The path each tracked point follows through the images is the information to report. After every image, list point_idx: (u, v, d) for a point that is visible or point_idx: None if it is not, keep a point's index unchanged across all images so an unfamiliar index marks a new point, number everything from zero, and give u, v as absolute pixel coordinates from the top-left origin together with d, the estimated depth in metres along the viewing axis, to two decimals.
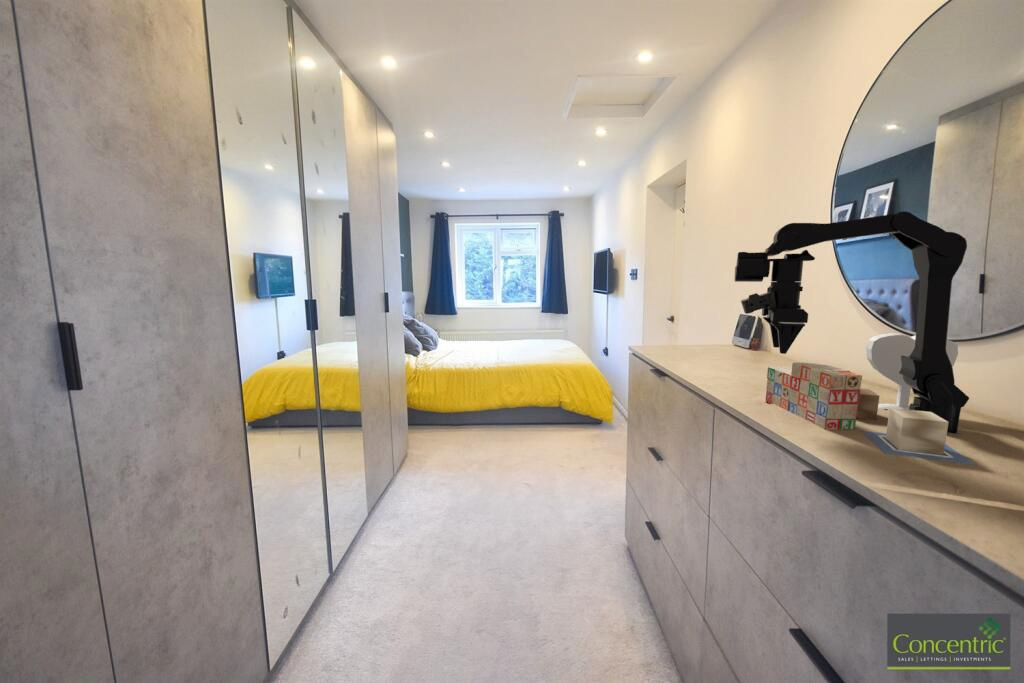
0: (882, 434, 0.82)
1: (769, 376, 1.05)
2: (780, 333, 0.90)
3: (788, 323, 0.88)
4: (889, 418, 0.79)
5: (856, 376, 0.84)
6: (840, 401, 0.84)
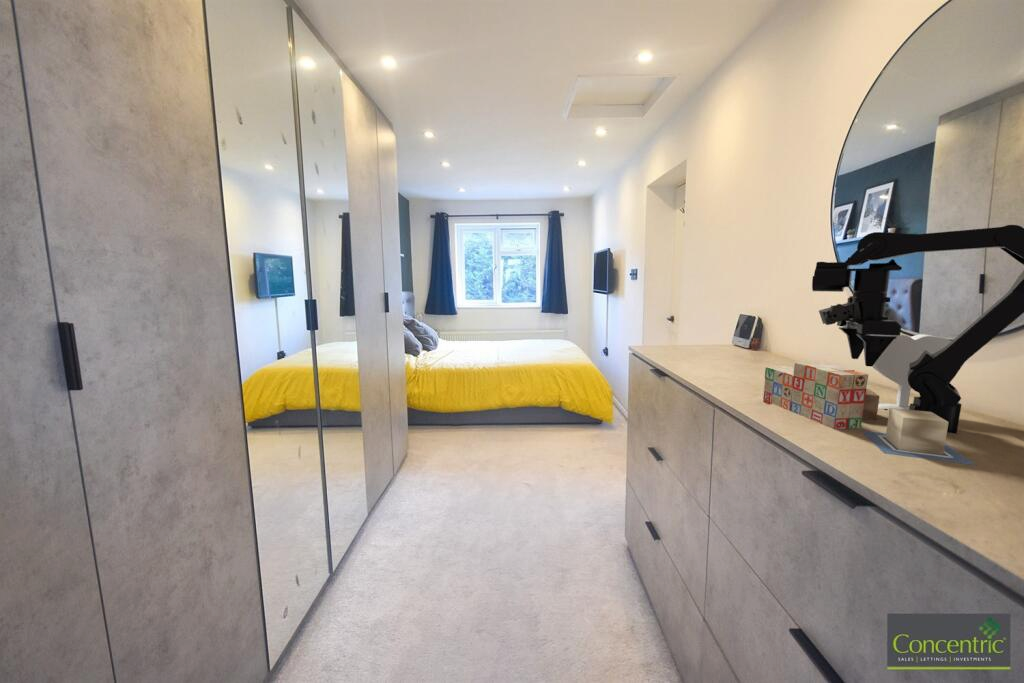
0: (882, 434, 0.82)
1: (767, 376, 1.05)
2: (867, 345, 0.88)
3: (878, 335, 0.85)
4: (889, 418, 0.79)
5: (863, 375, 0.84)
6: (848, 401, 0.85)
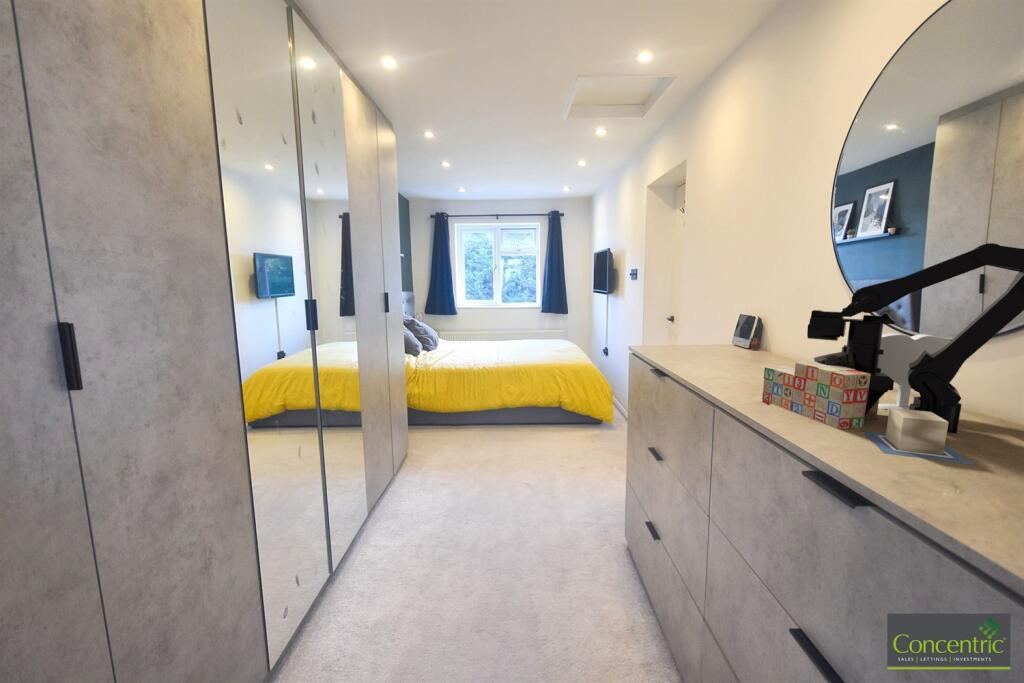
0: (882, 434, 0.82)
1: (766, 376, 1.05)
2: None
3: (870, 388, 0.87)
4: (889, 418, 0.79)
5: (866, 375, 0.85)
6: (852, 400, 0.85)
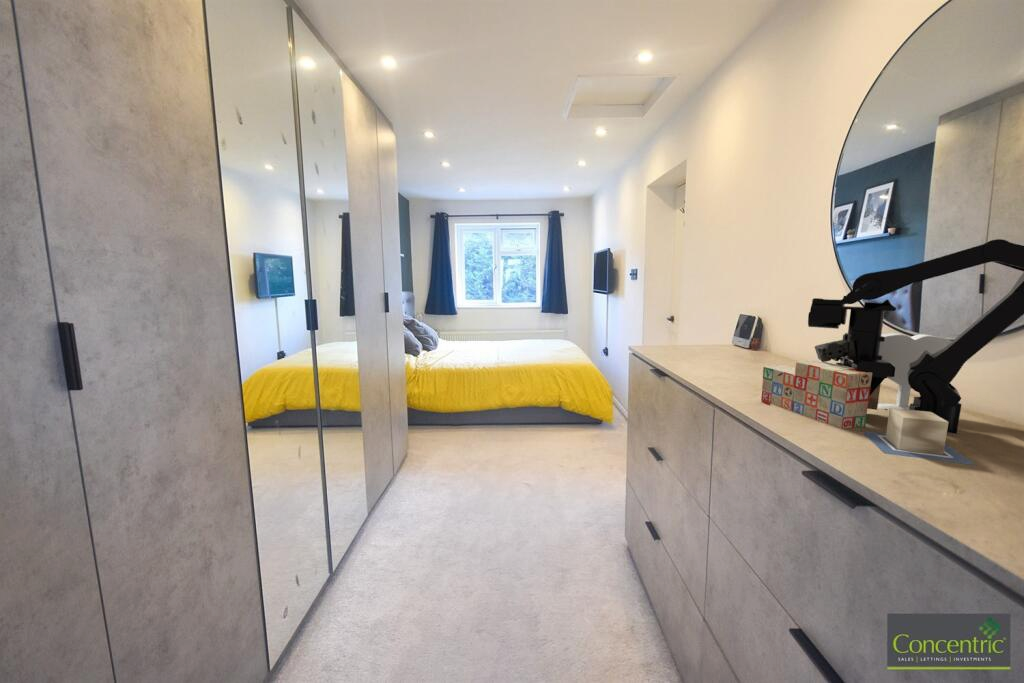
0: (882, 434, 0.82)
1: (765, 375, 1.04)
2: None
3: None
4: (889, 418, 0.79)
5: (868, 374, 0.85)
6: (854, 399, 0.85)
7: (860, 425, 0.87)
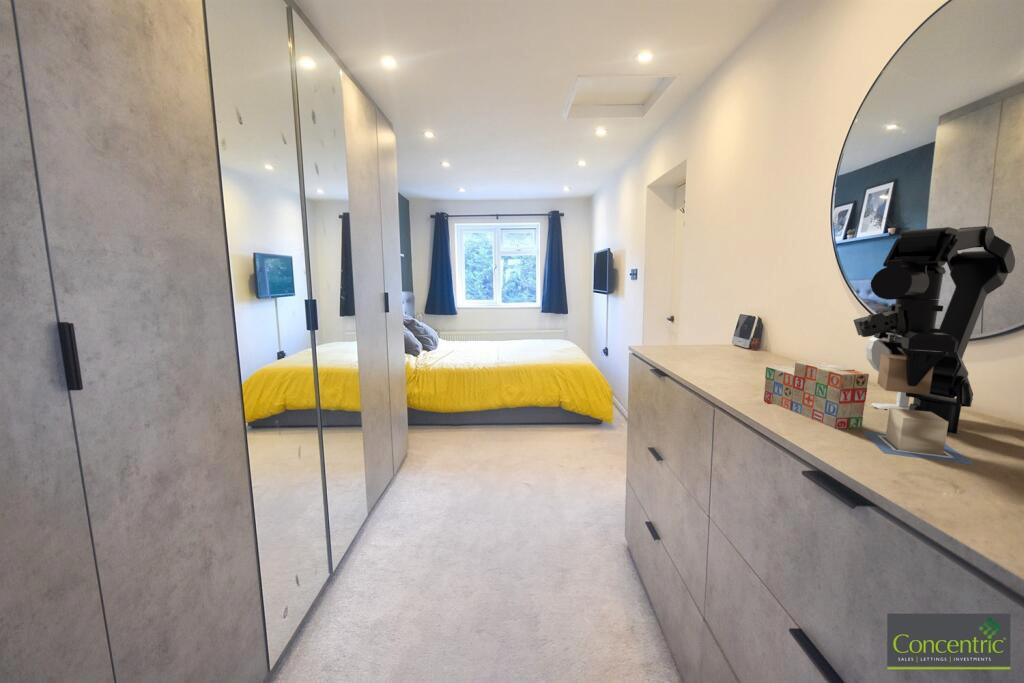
0: (882, 434, 0.82)
1: (767, 375, 1.05)
2: (911, 362, 0.74)
3: (925, 350, 0.72)
4: (889, 418, 0.79)
5: (864, 375, 0.85)
6: (849, 400, 0.85)
7: (856, 426, 0.86)
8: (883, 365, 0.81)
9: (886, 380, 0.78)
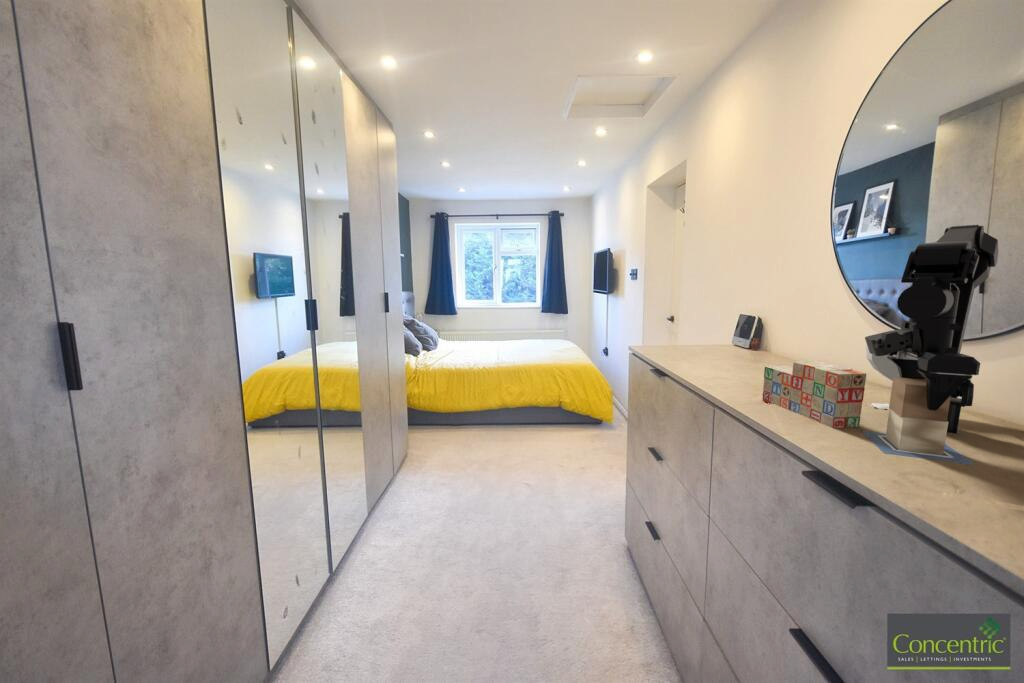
0: (882, 434, 0.82)
1: (766, 375, 1.05)
2: (932, 385, 0.70)
3: (948, 374, 0.67)
4: (889, 418, 0.79)
5: (861, 374, 0.85)
6: (847, 400, 0.86)
7: (853, 426, 0.87)
8: (896, 390, 0.77)
9: (901, 406, 0.75)
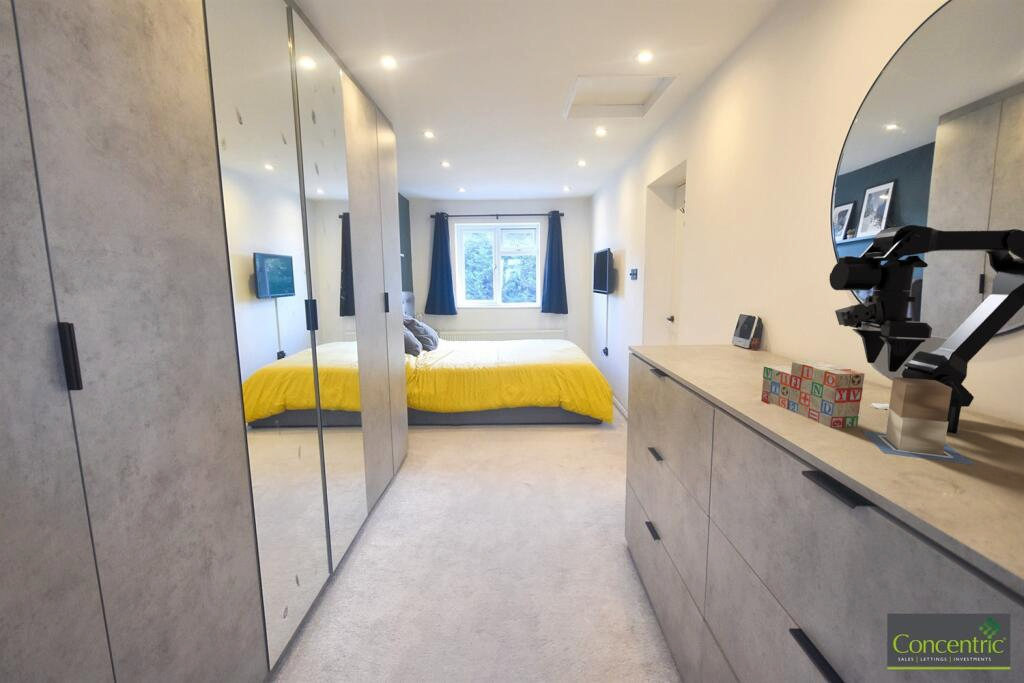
0: (882, 434, 0.82)
1: (765, 375, 1.05)
2: (892, 349, 0.80)
3: (906, 338, 0.78)
4: (889, 418, 0.79)
5: (859, 374, 0.85)
6: (845, 399, 0.86)
7: (851, 426, 0.87)
8: (896, 390, 0.77)
9: (901, 406, 0.75)
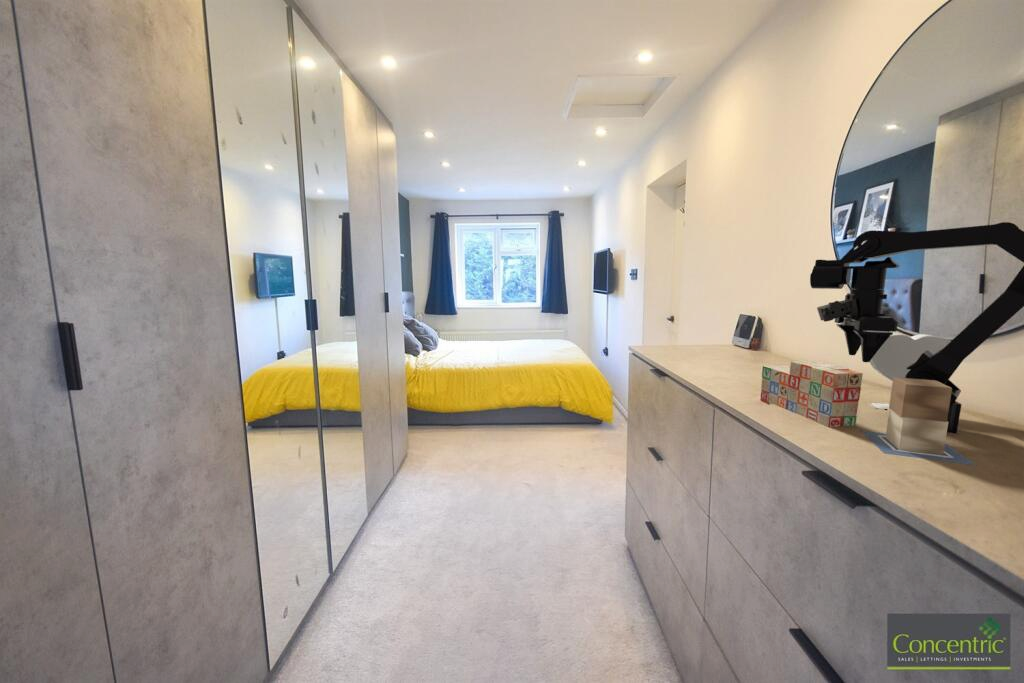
0: (882, 434, 0.82)
1: (764, 374, 1.06)
2: (864, 341, 0.89)
3: (875, 332, 0.87)
4: (889, 418, 0.79)
5: (857, 374, 0.85)
6: (843, 399, 0.86)
7: (849, 425, 0.87)
8: (896, 390, 0.77)
9: (901, 406, 0.75)
